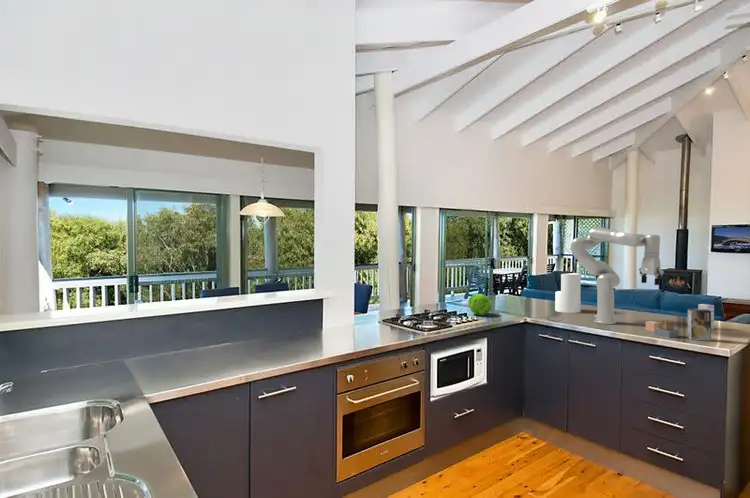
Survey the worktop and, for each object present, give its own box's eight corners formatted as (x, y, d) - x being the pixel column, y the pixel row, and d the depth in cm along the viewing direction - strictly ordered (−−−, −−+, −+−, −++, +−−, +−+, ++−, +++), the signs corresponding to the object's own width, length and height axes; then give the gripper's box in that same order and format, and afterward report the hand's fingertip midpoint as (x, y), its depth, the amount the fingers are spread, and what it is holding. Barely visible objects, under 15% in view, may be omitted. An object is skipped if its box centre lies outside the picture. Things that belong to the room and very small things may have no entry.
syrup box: (714, 329, 264) (714, 304, 264) (706, 329, 263) (707, 305, 262) (704, 327, 270) (705, 303, 269) (697, 327, 268) (697, 303, 268)
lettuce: (492, 316, 323) (494, 295, 324) (488, 318, 305) (491, 296, 305) (469, 312, 329) (471, 292, 330) (464, 314, 311) (467, 292, 311)
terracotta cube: (645, 330, 263) (645, 321, 263) (650, 329, 265) (650, 320, 265) (654, 331, 258) (654, 323, 258) (659, 330, 261) (659, 322, 261)
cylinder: (585, 311, 329) (585, 273, 328) (571, 313, 319) (572, 274, 318) (563, 308, 343) (564, 272, 342) (550, 310, 333) (550, 273, 333)
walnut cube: (658, 328, 249) (658, 319, 249) (666, 328, 250) (666, 319, 250) (666, 330, 244) (666, 321, 244) (673, 329, 245) (673, 320, 245)
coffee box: (707, 338, 240) (707, 309, 240) (711, 341, 234) (711, 311, 234) (687, 337, 243) (687, 308, 243) (690, 339, 237) (691, 310, 237)
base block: (654, 335, 250) (655, 328, 250) (664, 334, 253) (664, 327, 253) (669, 338, 242) (669, 331, 242) (678, 337, 246) (678, 329, 245)
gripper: (635, 254, 272) (633, 282, 273) (658, 256, 255) (657, 286, 256) (645, 254, 273) (644, 282, 274) (669, 256, 256) (668, 285, 257)
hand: (650, 283), depth 265 cm, fingers open, 9 cm apart
